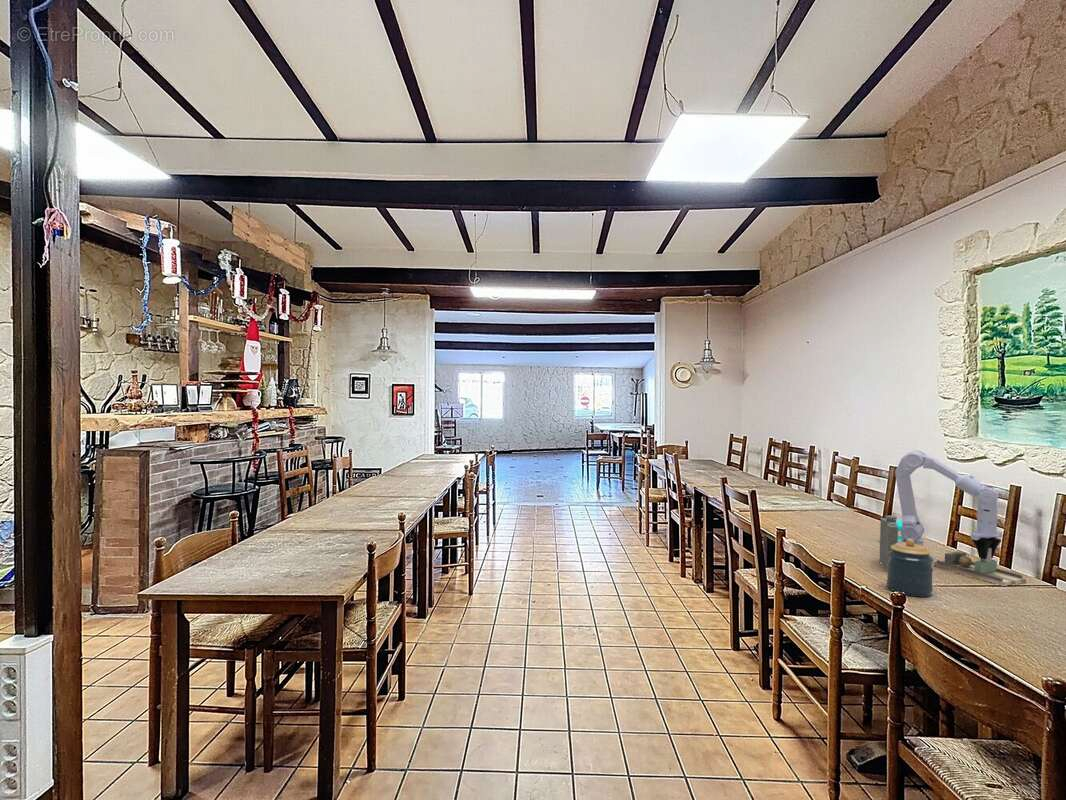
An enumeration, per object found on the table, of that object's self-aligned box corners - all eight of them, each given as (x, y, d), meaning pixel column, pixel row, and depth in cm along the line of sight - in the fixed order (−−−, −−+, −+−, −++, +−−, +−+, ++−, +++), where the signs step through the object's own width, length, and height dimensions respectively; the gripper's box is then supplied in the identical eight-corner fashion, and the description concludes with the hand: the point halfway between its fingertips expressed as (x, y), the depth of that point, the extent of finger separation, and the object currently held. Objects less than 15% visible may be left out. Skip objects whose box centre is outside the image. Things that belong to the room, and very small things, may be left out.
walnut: (967, 568, 211) (967, 558, 211) (956, 565, 215) (956, 555, 215) (974, 567, 212) (974, 557, 212) (963, 564, 216) (963, 554, 216)
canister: (922, 586, 196) (923, 535, 195) (940, 599, 183) (941, 545, 183) (880, 582, 199) (881, 532, 198) (895, 595, 186) (896, 542, 186)
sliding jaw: (982, 574, 204) (982, 549, 204) (973, 571, 207) (973, 547, 207) (998, 571, 207) (998, 547, 207) (989, 569, 210) (989, 545, 210)
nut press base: (1004, 586, 196) (1004, 570, 196) (933, 566, 219) (934, 551, 218) (1025, 583, 200) (1026, 567, 200) (954, 563, 223) (955, 549, 223)
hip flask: (878, 561, 224) (880, 511, 223) (890, 562, 222) (891, 512, 222) (887, 573, 209) (889, 519, 209) (900, 575, 207) (901, 520, 207)
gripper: (986, 524, 200) (984, 562, 201) (1012, 522, 206) (1010, 559, 206) (964, 520, 207) (963, 557, 207) (990, 517, 212) (989, 553, 212)
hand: (985, 557), depth 207 cm, fingers closed on sliding jaw, 3 cm apart
